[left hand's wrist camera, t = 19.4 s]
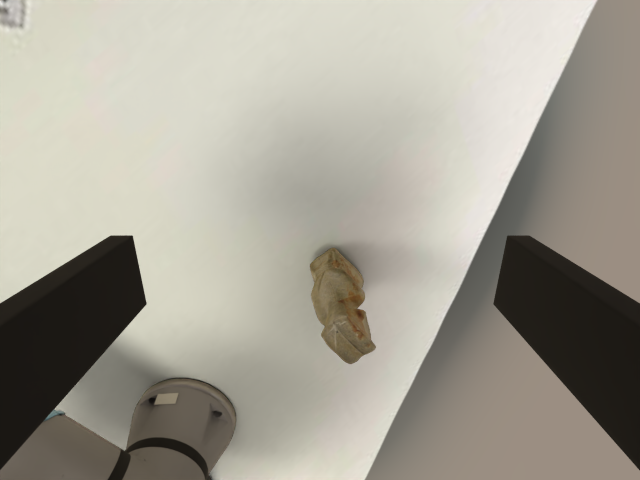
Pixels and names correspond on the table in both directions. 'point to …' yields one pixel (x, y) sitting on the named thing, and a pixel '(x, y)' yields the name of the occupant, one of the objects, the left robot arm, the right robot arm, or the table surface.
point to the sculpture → (341, 306)
